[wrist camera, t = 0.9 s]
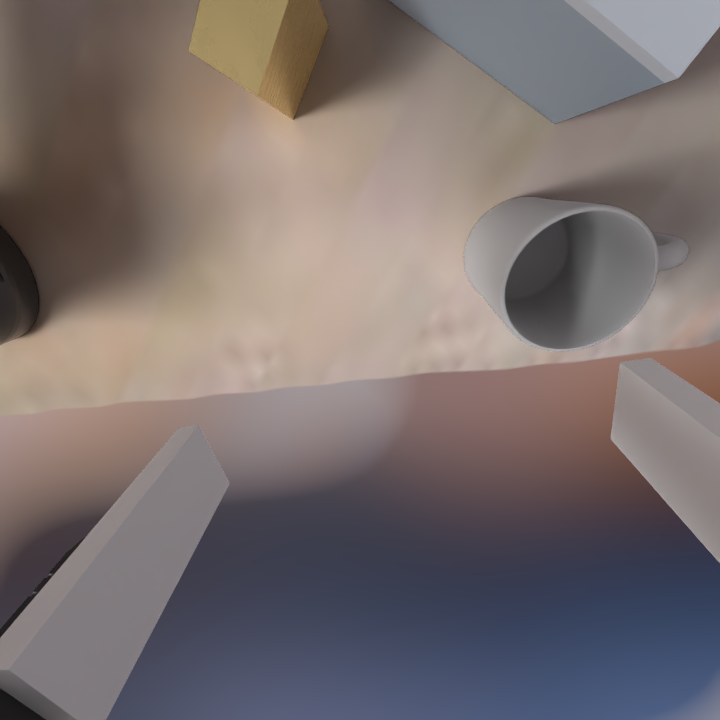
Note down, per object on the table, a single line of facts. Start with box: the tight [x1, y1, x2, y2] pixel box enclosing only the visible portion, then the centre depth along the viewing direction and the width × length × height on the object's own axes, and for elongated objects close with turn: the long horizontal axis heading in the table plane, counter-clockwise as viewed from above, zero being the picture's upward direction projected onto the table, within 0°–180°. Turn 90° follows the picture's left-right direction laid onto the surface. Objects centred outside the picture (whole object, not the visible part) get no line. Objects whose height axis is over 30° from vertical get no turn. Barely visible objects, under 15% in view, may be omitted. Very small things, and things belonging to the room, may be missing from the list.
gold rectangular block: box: [188, 0, 329, 119], centre depth 21 cm, size 4×6×8 cm, turn 151°
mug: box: [464, 197, 689, 352], centre depth 24 cm, size 12×8×11 cm
